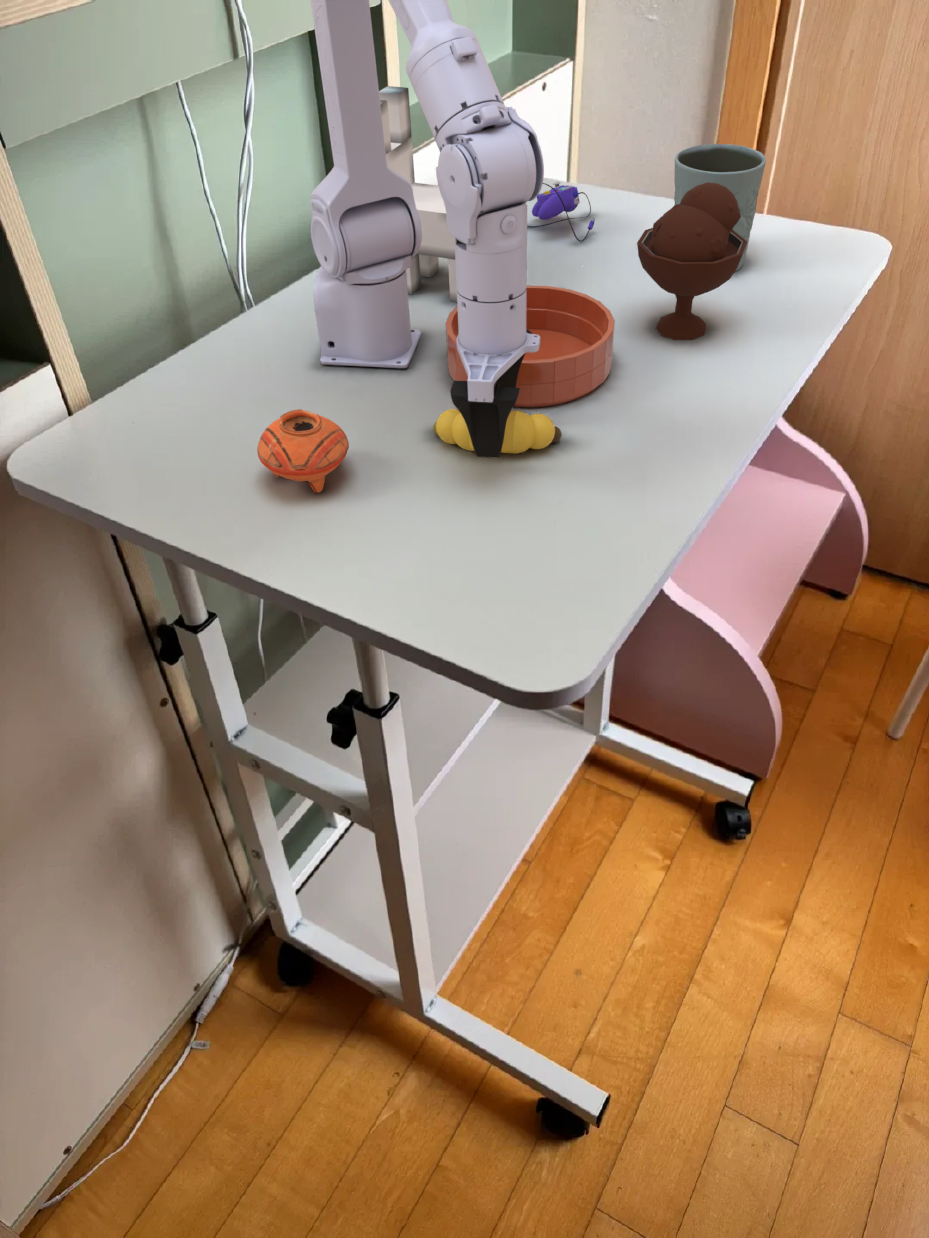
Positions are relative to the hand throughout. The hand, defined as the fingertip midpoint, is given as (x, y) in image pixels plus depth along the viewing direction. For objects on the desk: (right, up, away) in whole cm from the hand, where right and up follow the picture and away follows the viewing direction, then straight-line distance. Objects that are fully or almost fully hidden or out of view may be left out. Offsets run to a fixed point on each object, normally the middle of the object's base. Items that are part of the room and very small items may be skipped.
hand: (494, 431), depth 87 cm
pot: (-17, -5, -1) cm, 17 cm away
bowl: (+4, +9, +12) cm, 16 cm away
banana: (0, -1, +1) cm, 2 cm away
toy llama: (-6, +23, +28) cm, 37 cm away
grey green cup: (+27, +26, +30) cm, 48 cm away
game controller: (+10, +34, +39) cm, 53 cm away
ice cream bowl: (+21, +14, +17) cm, 31 cm away
